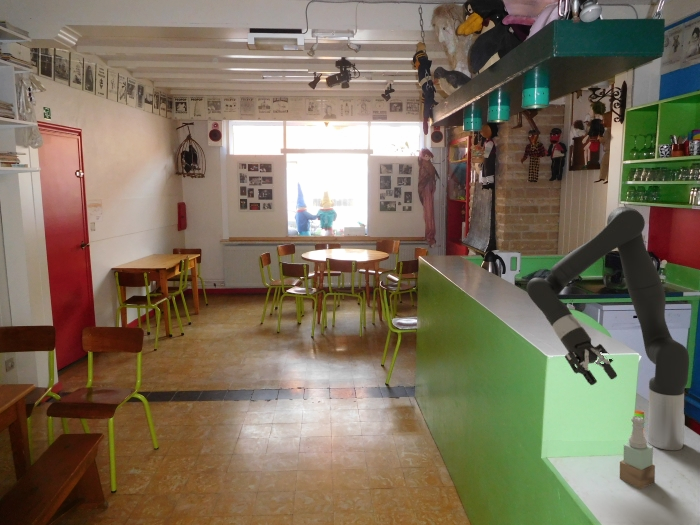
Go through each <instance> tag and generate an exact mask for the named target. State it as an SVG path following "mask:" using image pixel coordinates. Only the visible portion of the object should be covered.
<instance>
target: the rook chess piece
mask: <svg viewBox="0 0 700 525" xmlns="http://www.w3.org/2000/svg"><path fill="white" fill-rule="evenodd" d="M631 422H632V425H631V427H632V433H631V435H630V436H629V438H628V442H627V443H629V445H630V446H631V447H633V448H636V449H644V448H646V447H647V445H648V444H647V443H648V442H647V441H648V440H647V439H646V437H645V435H644V428H645V426H644V424H645V423H646V421H645V420H644V417H643V416H641V415H638V416H637V415H633V416H632V419H631Z"/></svg>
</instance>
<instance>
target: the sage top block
mask: <svg viewBox="0 0 700 525" xmlns="http://www.w3.org/2000/svg"><path fill="white" fill-rule="evenodd" d="M653 456H654V446H653V445H649V444H647V447H646V448H644V449H636V448H633V447H631V446H630V445H629V443H628V442H627V443H625V444H623V460H624V463H627V464H629V465H631V466H633V467H636V468H638V469H640V470H642V469H645V468H647V467H649V466H651V465H654V463H653V462H654V460H653V458H654V457H653Z"/></svg>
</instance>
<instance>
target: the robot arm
mask: <svg viewBox="0 0 700 525" xmlns="http://www.w3.org/2000/svg"><path fill="white" fill-rule="evenodd" d="M645 224H646V222H645V218H644V216H643V215H642V213H641V212H640V211H637V209H634V208H632V207H628V206H620V207H616V208H614V209H613V210H612V211H611V212H610V213H609V215H608V216H607V220H606V226H605V227H604V228H603V229H601V231H600V232H599V233H598V234H596V235H595V236H594V237H593V238H591V239H590V240H588V241H586V242H585V243H584V244H582V245H579V247H577V248H575V249H574V250H572V251H571V252H569V253H567V254H566V255H565V256H564V257H563V258H561V259H560V260H559V261H557V262H556V263H555V264H554V265H553V266H551V269H550V274H548V275H547V276H546V277H545V278H541V277H533V278H532V279H530V280H529V281H528V282H527V285H526V292H527V295H528V297H529V298H530V300H532V302H533V303H534V305H535V306H536V307H537V308H538V309H539V310H540V311H541V312H542V314H544V316H545V318H546V320H547V321H548V323H549V325H550V326H551V327H552V329H553V331H554V332H555V334H556V336H557V338H558V339H559V340H560V342H561V344H563V346H564V348H565V349H566V351H567V354H566V355H565V356H564V358H565V360H566V361H567V363H568V364H569V366H570V368H571V369H572V371H573V373H574V374H580V375H583V378H584V379H585V380H586V382H587V383H588V384H589V385H590V386H594V385H595V384H597V383H598V380H597V378H595V376H594V374H593V373H592V372H591V370H590V369H589V364H594V362H595V361H596V360H597V359H598V358H599V359H598V360H597V361H596V362H595V363H596V364H597V365H598V366H600V367H601V368H603V371H604V372H605V374H606V375H607V376H608V378H609V379H610V380H614V379H616V378H617V376H618V374H617V372H616V371H615V370H614V368H613V367H612V365H611V364H612V363H613V362H614V359H613V358H612V359H613V360H612V359H609V361H608V359H607V358H606V357H605V358H606V359H605V358H604V356H603V355H601V354H600V352H602V353H608V354H609V352H608V351H607V349H606V348H605V347H604V346H603V345H602V344H601V343H599V344H598V345H596V346H595V345H593V344H592V338H591V337H590V335H589V334H588V332H587V331H586V330H585V328H584V327H583V326H582V324H581V323H580V322H579V320H578V319H577V318H576V317H575V316H574V315H573V313H572V311H571V310H570V309H569V307H568V306H567V305H566V304H565V303H564V302H563V301H562V300H560V299H559V298H558V296H559V294H560V293H561V292H563V290H564V289H565V288H566V287H567V285H568V284H569V283H571V282H572V281H573V280H575V279H576V278H578V277H579V276H580V275H582V274H583V273H584V272H586V270H588V269H589V268H590V267H591V266H593V265H594V264H596V262H598V261H600V260H601V259H602V258H604V257H605V256H607V255H608V254H609V253H611V252H612V251H614V250H616V249H617V251H618V254H619V258H620V262H621V266H622V272H623V276H624V280H625V284H626V287H627V291H628V294H629V297H630V300H631V303H632V306H633V308H634V312H635V315H636V317H637V320H638V323H639V325H640V330H641V334H642V340H643V346H644V351H645V354H646V356H647V358H648V359H649V361H650V362H652V363H653V364H654V365H655V368H654V369H655V371H654V376H653V377H651V378H650V379H649V381H648V383H649V384H648V418H647V419H648V424H647V425H648V428H647V429H648V430H647V441H648V442H647V443H649V444H650V446H652V447H655V448H658V449H661V450H665V451H666V450H667V451H677V450H678V451H679V450H681V449H682V448H684V447H683V445H684V444H685V416H686V415H685V414H684V411H685V409H684V408H685V387H686V386H687V384H688V380H689V371H690V370H689V369H690V368H689V366H690V355H689V351H688V350H687V347H686V346H684V345H683V344H682V343H680V342H678V341H676V340H675V339H674V338H673V337H672V335H671V333H670V330H669V327H668V325H667V322H666V318H665V317H666V315H665V313H666V312H665V311H666V305H667V304H666V303H667V298H666V293H665V289H664V286H663V283H662V279H661V276H660V274H659V271H658V270H657V267H656V265H655V262H654V261H653V259H652V258H651V256H650V253H649V251H648V250H647V247H646V245H645V241H644V237H643V231H644V229H645ZM600 362H602V363H604V364H601V363H600ZM596 364H595V365H596Z"/></svg>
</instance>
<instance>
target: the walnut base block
mask: <svg viewBox="0 0 700 525" xmlns="http://www.w3.org/2000/svg"><path fill="white" fill-rule="evenodd" d="M655 478H656V465H655V464H653V465H651V466H649V467H647V468H645V469H642V470H640V469H638V468H636V467H633V466H631V465H629V464H627V463H624V459H623V460H621V461H619V479H620V480H621V481H623V482H626V483H628V484H630V485H632V486H633V485H634V486H633V487H635V486H636V487H635V488H637V487H638V488H637V489H639V488H640V489H643V488H646V487H648V486H650V485H652V484H654V483H656V481H655V480H656V479H655Z"/></svg>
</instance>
